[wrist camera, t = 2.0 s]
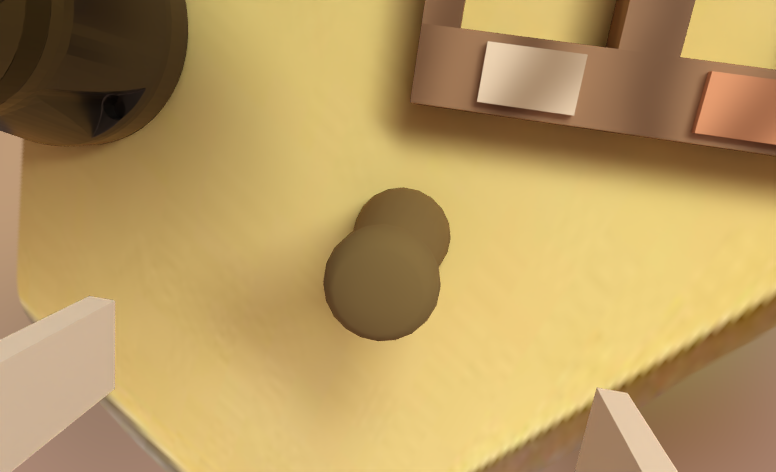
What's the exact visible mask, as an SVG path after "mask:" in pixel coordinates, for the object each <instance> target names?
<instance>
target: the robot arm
mask: <svg viewBox="0 0 776 472" xmlns="http://www.w3.org/2000/svg"><path fill="white" fill-rule="evenodd" d="M187 39H188V19H187V9H186V2H185V0H0V131H3V132H6V133H9V134H12V135H15V136H18V137H21V138H23V139H26V140H30V141H33V142H37V143H42V144H47V145H55V146H82V145H96V144H104V143H109V142H113V141H116V140H119V139H122V138H124V137H127V136H129V135H131V134H133V133H134V132H136V131H138V130H139V129H141V128H142V127H143V126H145V125H146V124H147V123H148V122H150V121H151V120H152V119H153V118H154V117H155V116H156V115H157V114H158V113H159V112H160V110H161V109H162V108H163V107H164V105H165V104H166V102H167V101H168V99H169V98H170V96H171V94H172V93H173V91H174V89H175V87H176V84H177V82H178V80H179V77H180V74H181V71H182V68H183V65H184V60H185V55H186V49H187ZM114 389H115V300H110V299H104V298H99V297H93V296H88V297H86V298H84V299H82V300H80V301H78V302H76V303H74V304H72V305H70V306H68V307H66V308H64V309H62V310H60V311H58V312H55V313H53V314H51V315H49V316H47V317H45V318H43V319H41V320H39V321H37V322H35V323H33V324H31V325H29V326H27V327H25V328H23V329H21V330H19V331H17V332H15V333H13V334H11V335H9V336H7V337H5V338H2V339H0V472H12V471H13V470H14V469H15V468H17V467H18V466H19V465H20V464H21V463H23V462H24V461H25V460H27V459H28V458H29V457H30V456H32V455H33V454H34V453H35V452H37V451H38V450H39V449H40V448H41V447H43V446H44V445H45V444H46V443H48V442H49V441H50V440H52V438H54V437H55V436H56V435H58V434H59V433H60V432H61V431H63V430H64V429H65V428H66V427H68V426H69V425H70V424H71V423H73V422H74V421H75V420H76V419H78V418H79V417H80V416H81V415H83V414H84V413H85V412H86V411H88V410H89V409H90V408H91V407H93V406H94V405H95V404H96V403H98V402H99V401H100V400H101V399H103V398H104V397H105V396H106V395H108V394H109V393H110V392H111V391H113V390H114ZM575 472H678V471H677V470H676V468H675V467H674V465H673V463H672V462H671V461H670V459H669V457H668V456H667V454H666V453H665V451H664V450H663V448H662V446H661V445H660V443H659V442H658V440H657V438H656V437H655V435H654V434H653V432H652V431H651V429H650V428H649V426H648V424H647V423H646V421H645V420H644V418H643V417H642V415H641V414H640V412H639V410H638V409H637V407H636V406H635V404H634V403H633V401H632V399H631V398H630V396H629V395H628V393H624V392H618V391H613V390H607V389H602V388H597V389H596V392H595V396H594V400H593V404H592V408H591V411H590V415H589V419H588V423H587V427H586V430H585V434H584V438H583V442H582V446H581V449H580V454H579V457H578V461H577V465H576V469H575Z"/></svg>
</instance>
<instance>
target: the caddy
mask: <svg viewBox="0 0 776 472" xmlns="http://www.w3.org/2000/svg"><path fill="white" fill-rule="evenodd" d="M694 3H695V0H617V1H616V6H615V10H614V14H613V18H612V23H611V27H610V31H609V36H608V40H607V44H606V47H598V46H591V45H583V44H576V43H568V42H560V41H553V40H545V39H538V38H530V37H522V36H515V35H507V34H500V33H492V32H484V31H477V30H469V29H462V28H461V23H462V17H463V11H464V5H465V0H425V5H424V12H423V19H422V25H421V32H420V39H419V46H418V52H417V59H416V66H415V73H414V79H413V86H412V93H411V100H410V102H411V103H414V104H421V105H427V106H434V107H441V108H448V109H455V110H462V111H469V112H476V113H482V114H489V115H496V116H503V117H510V118H517V119H524V120H531V121H537V122H544V123H551V124H558V125H565V126H572V127H579V128H586V129H592V130H599V131H606V132H613V133H620V134H627V135H634V136H641V137H647V138H654V139H661V140H668V141H675V142H682V143H689V144H696V145H702V146H709V147H716V148H723V149H730V150H737V151H744V152H751V153H757V154H764V155H771V156H776V70H773V69H766V68H758V67H751V66H743V65H735V64H728V63H720V62H712V61H705V60H697V59H690V58H682V57H680V55H681V52H682V48H683V44H684V41H685V37H686V33H687V29H688V26H689V22H690V18H691V15H692V11H693V7H694Z"/></svg>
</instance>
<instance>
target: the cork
mask: <svg viewBox="0 0 776 472" xmlns="http://www.w3.org/2000/svg"><path fill="white" fill-rule="evenodd" d="M449 243H450V229H449V223H448V220H447V218H446V216H445V214H444V212H443V210H442V208H441V207H440V206H439V205H438V204H437V203H436V202H435V201H434V200H433V199H432V198H431V197H429V196H427V195H425V194H424V193H422V192H420V191H418V190H413V189H408V188H396V189H388V190H386V191H384V192H381V193H379V194H377V195H375V196H374V197H373V198H371V199H370V200H369V201H368V202H367V203H366V204H365V205H364V206H363V208H362V210H361V212H360V213H359V215H358V217H357V219H356V223H355V227H354V231H353V232H352V233H350V234H349V235H348V236H347V237H346V238H345V239H343V240H342V241H341V242H340V243H339V244H338V245H337V246H336V247H335V248H334V250H333V252H332V254H331V256H330V258H329V259H328V261H327V263H326V269H325V275H324V290H325V296H326V301H327V303H328V305H329V307H330V309H331V311H332V313H333V315H334V317H335V318H336V319H337V320H338V321H339V322H340V323H341V324H342V325H343V326H344V327H345V328H346V329H348V330H349V331H351V332H353V333H355V334H356V335H358V336H360V337H363V338H367V339H371V340H376V341H386V340H396V339H399V338H401V337H404V336H407V335H409V334H412V333H413V332H414V331H415V330H416V329H418V328H419V327H420V326H421V325H422V324H424V323H425V322H426V321H427V320H428V318H429V316H430V315H431V313H432V312H433V310H434V308H435V307H436V305H437V300H438V296H439V292H440V276H439V266H440V264H441V262H442V261H443V259H444V257H445V256H446V254H447V252H448V247H449Z"/></svg>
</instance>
